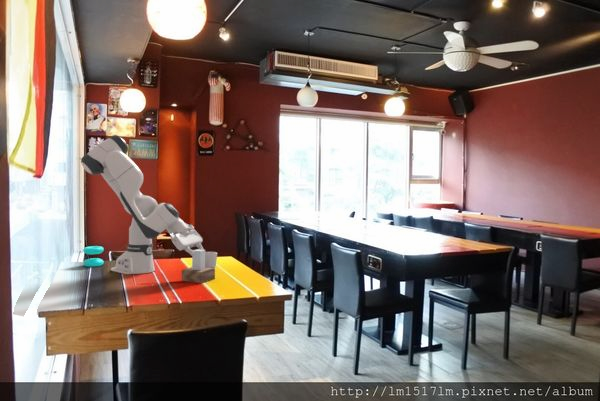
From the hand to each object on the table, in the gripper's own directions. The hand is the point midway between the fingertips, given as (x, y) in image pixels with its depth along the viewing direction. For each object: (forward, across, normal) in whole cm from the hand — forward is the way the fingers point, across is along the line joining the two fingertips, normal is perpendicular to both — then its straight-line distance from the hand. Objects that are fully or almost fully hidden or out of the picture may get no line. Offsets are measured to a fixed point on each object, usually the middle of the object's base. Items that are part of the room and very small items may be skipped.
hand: (198, 252), depth 218 cm
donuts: (-39, +11, +57) cm, 70 cm away
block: (+6, -1, +5) cm, 8 cm away
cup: (+4, +26, +15) cm, 30 cm away
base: (+9, -1, +8) cm, 13 cm away
